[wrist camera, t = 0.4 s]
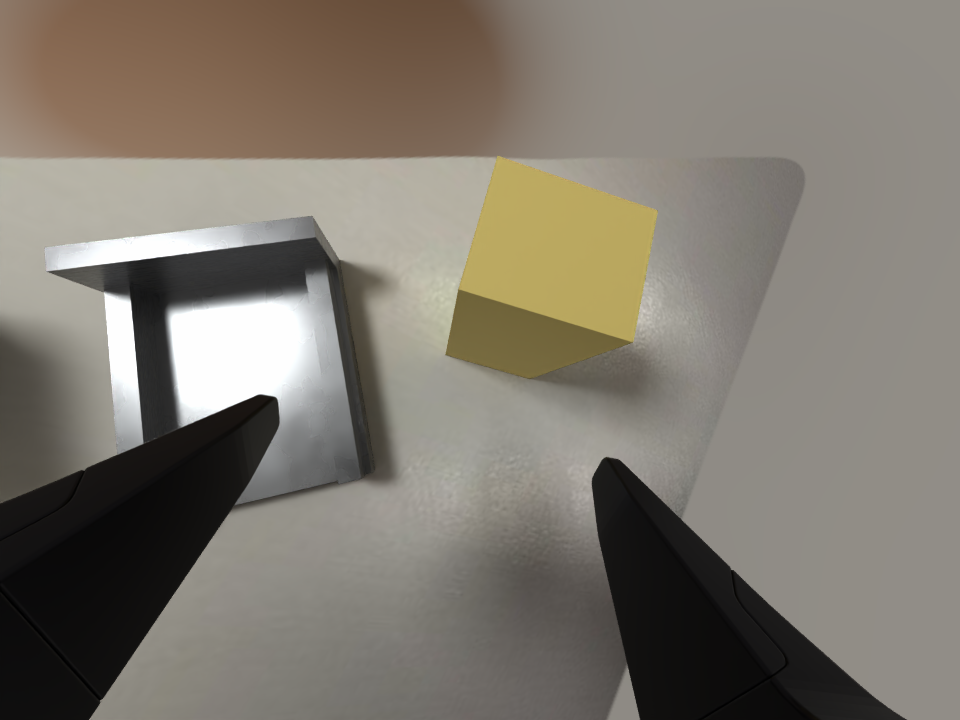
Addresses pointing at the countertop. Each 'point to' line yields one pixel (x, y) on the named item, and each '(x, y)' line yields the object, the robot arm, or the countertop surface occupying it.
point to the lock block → (549, 274)
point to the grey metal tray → (232, 341)
